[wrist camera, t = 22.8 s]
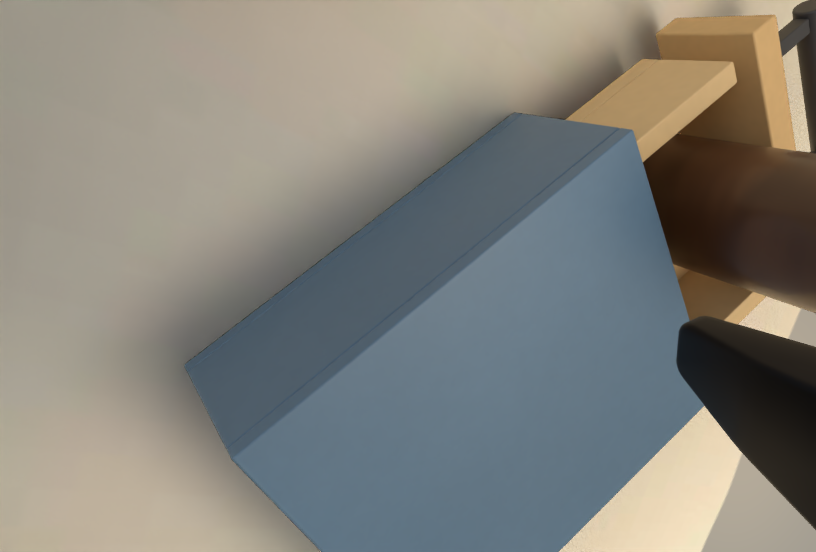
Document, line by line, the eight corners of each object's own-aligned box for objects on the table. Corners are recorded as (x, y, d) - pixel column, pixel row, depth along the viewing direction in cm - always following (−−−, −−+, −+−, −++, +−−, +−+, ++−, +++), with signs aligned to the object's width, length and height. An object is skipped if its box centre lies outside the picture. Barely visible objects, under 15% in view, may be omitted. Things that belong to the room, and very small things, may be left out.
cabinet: (514, 111, 23) (634, 128, 19) (606, 342, 29) (713, 397, 25) (183, 364, 20) (230, 459, 15) (366, 564, 26) (438, 672, 22)
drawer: (757, -47, 26) (864, -59, 22) (791, 177, 31) (882, 193, 28) (410, 224, 22) (480, 257, 18) (522, 426, 27) (591, 479, 24)
